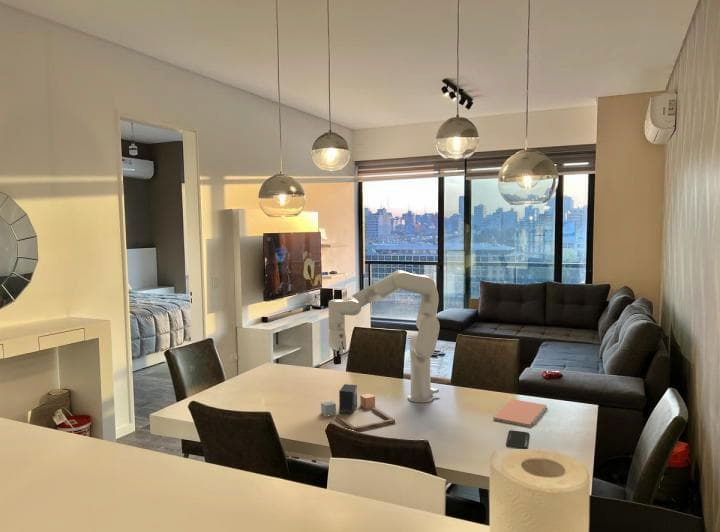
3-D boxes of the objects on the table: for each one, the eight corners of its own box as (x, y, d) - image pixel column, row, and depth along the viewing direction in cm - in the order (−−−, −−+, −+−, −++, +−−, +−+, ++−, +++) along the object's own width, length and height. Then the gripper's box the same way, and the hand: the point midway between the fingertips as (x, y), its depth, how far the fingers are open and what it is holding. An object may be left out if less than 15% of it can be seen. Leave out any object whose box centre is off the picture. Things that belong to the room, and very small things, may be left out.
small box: (353, 414, 232) (352, 391, 231) (338, 413, 233) (338, 390, 232) (357, 406, 242) (357, 384, 241) (344, 405, 243) (343, 383, 243)
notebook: (532, 429, 213) (532, 424, 213) (492, 421, 223) (492, 416, 222) (548, 409, 236) (548, 404, 236) (512, 402, 245) (512, 398, 245)
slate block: (331, 411, 236) (331, 400, 236) (336, 414, 232) (335, 403, 232) (321, 413, 234) (321, 402, 234) (325, 416, 230) (325, 405, 229)
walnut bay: (375, 410, 236) (375, 407, 236) (395, 423, 221) (395, 419, 220) (335, 418, 227) (335, 415, 227) (353, 432, 211) (353, 428, 211)
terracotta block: (369, 403, 246) (369, 393, 245) (375, 406, 241) (374, 396, 241) (360, 405, 243) (360, 395, 243) (365, 408, 239) (365, 398, 239)
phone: (529, 432, 207) (527, 447, 193) (529, 435, 207) (527, 450, 193) (508, 429, 210) (505, 444, 196) (508, 432, 210) (505, 447, 196)
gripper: (351, 327, 240) (351, 366, 241) (337, 322, 253) (337, 359, 254) (336, 329, 236) (336, 368, 238) (323, 324, 249) (323, 361, 251)
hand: (337, 363), depth 246 cm, fingers closed
